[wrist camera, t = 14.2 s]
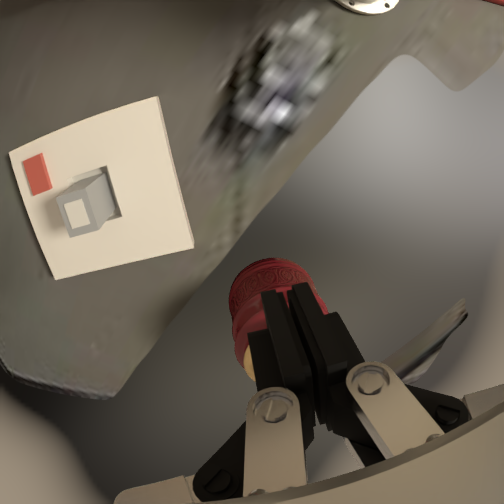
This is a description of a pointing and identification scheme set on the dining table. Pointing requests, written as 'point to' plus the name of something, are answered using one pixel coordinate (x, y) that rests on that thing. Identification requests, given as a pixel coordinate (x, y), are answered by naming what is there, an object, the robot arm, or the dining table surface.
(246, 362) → the canister
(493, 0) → the watermelon slice
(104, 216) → the plug
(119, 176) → the switch plate
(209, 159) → the dining table surface
